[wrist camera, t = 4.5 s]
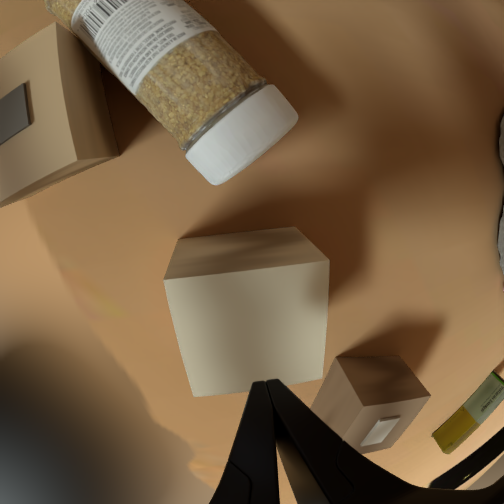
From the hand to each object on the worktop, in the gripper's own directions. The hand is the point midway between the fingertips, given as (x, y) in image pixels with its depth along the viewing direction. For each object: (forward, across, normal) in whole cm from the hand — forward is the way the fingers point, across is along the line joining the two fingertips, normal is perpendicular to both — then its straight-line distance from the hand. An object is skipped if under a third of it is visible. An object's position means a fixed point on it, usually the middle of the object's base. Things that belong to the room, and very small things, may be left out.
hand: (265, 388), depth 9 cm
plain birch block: (+8, 0, 0) cm, 8 cm away
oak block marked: (+8, +9, -10) cm, 16 cm away
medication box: (+8, -28, +22) cm, 36 cm away
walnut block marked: (+8, -8, +10) cm, 15 cm away
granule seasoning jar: (+5, +7, -18) cm, 20 cm away
